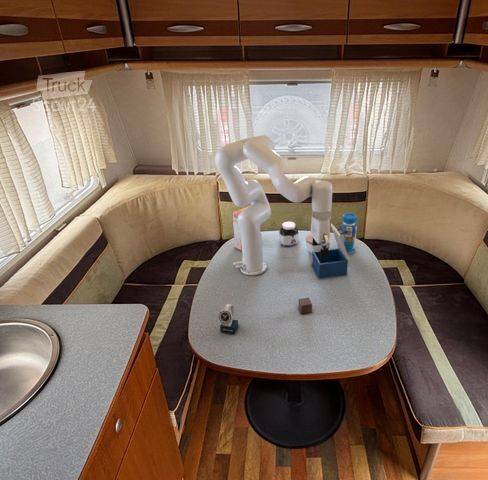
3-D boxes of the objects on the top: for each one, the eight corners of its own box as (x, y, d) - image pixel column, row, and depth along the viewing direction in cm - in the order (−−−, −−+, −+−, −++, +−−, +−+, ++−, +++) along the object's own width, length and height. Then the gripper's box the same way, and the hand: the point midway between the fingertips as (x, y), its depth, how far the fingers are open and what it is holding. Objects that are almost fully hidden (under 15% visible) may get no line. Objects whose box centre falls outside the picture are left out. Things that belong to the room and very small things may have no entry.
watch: (219, 335, 133) (215, 313, 128) (226, 321, 140) (223, 299, 135) (233, 338, 132) (230, 315, 127) (240, 323, 139) (238, 301, 134)
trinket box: (326, 256, 181) (327, 240, 176) (305, 256, 181) (306, 240, 177) (325, 246, 190) (326, 230, 186) (305, 245, 190) (305, 230, 186)
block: (301, 314, 143) (301, 305, 141) (298, 307, 147) (298, 298, 145) (311, 312, 144) (312, 304, 142) (308, 305, 148) (308, 297, 146)
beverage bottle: (335, 250, 187) (337, 215, 177) (345, 244, 192) (348, 210, 182) (347, 256, 181) (351, 221, 171) (358, 250, 186) (362, 215, 176)
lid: (339, 235, 155) (348, 231, 155) (330, 224, 165) (339, 220, 165) (347, 260, 163) (356, 256, 163) (338, 247, 173) (347, 243, 173)
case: (319, 278, 164) (319, 264, 161) (311, 265, 174) (312, 251, 170) (346, 274, 167) (348, 260, 163) (338, 261, 177) (339, 248, 173)
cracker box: (242, 251, 186) (239, 215, 175) (234, 247, 189) (231, 211, 179) (261, 241, 194) (260, 206, 184) (254, 238, 198) (252, 203, 188)
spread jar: (282, 248, 188) (281, 229, 182) (275, 238, 198) (275, 219, 192) (303, 244, 192) (303, 225, 186) (296, 235, 201) (296, 216, 195)
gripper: (305, 205, 144) (304, 242, 152) (319, 224, 129) (318, 263, 138) (322, 203, 146) (321, 239, 154) (339, 221, 131) (336, 260, 140)
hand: (320, 250), depth 146 cm, fingers open, 9 cm apart
